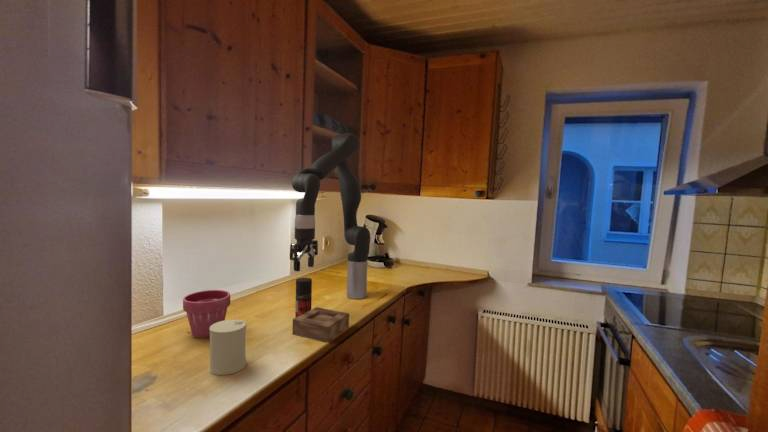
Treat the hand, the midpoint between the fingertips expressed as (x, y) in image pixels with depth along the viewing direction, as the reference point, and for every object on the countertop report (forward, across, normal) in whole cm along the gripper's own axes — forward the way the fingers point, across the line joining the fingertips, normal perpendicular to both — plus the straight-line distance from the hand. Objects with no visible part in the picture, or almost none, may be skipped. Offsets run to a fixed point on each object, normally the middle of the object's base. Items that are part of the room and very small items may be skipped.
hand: (304, 268), depth 130 cm
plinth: (+19, +7, +13) cm, 24 cm away
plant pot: (+20, +26, -20) cm, 38 cm away
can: (+20, +39, +4) cm, 44 cm away
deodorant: (+19, 0, 0) cm, 19 cm away
